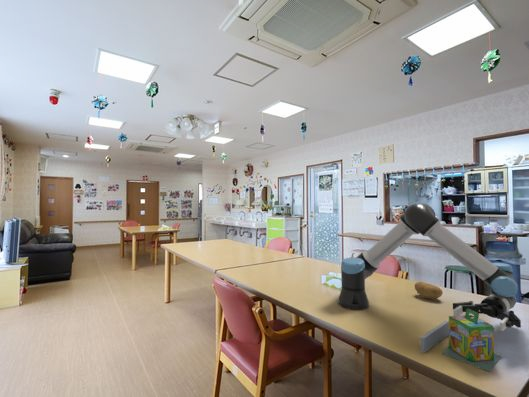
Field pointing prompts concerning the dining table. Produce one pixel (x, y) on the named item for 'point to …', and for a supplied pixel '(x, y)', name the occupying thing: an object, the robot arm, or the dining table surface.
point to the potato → (428, 290)
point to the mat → (484, 365)
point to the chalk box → (471, 337)
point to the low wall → (434, 336)
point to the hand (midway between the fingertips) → (476, 319)
